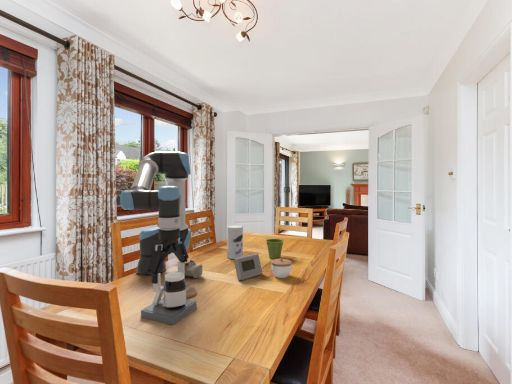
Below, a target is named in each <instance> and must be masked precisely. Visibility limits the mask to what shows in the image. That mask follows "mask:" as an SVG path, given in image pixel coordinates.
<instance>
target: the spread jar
mask: <svg viewBox="0 0 512 384" xmlns="http://www.w3.org/2000/svg"><path fill="white" fill-rule="evenodd" d="M186 287H187V284H186V281H185V279H184V273H182V272H177V271H172V272H168V273H166V274H165V275H164V282H163V285H161V292H160V293H158V292H155V295H154V297H153V301H152V304H153V305H156V306H157V305H158V304H159V302H160V300H161V299H162V298H164V307H165V308H166V309H168V310H177V309H181V308H182V307H184V306H185V304H186Z"/></svg>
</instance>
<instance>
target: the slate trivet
mask: <svg viewBox="0 0 512 384" xmlns="http://www.w3.org/2000/svg"><path fill="white" fill-rule="evenodd" d="M195 309H197V301H196V300H191V299H188V298H187V299H186V304H185V306H184V307H182V308H181V309H177V310H168V309H166V308H165V307H164V297H162V298H161V300H160V302H159V304H158V305H157V306H156V305H153V303H151V304H150V305H148V306H146V307H144V308H142V309H141V310H140V317H141V318H142V319H147V320H150V321H154V322H159V323H164V324H166V325H170V326H174V325H175V324H177V323H178V322H179V321H180V320H182V319H184V318H185V317H187V315H189V314H190V313H192V311H194V310H195Z"/></svg>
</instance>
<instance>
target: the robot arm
mask: <svg viewBox="0 0 512 384" xmlns="http://www.w3.org/2000/svg"><path fill="white" fill-rule="evenodd" d="M157 175H164V177H165V180H167V182H168V185H164V186H159V187H158V189H157V190H155V189H154V190H152V187H153V183H154V179H155V176H157ZM190 175H191V164H190V158H189V154H188V153H187V152H182V151H154V152H150V153H148V154H146V155H145V156H143V157H142V158H141V159H140V160H139V162H138V164H137V172H136V175H135V176H134V177H135V178H134V180H133V183H132V185H131V187H130V189H125V190H122V191H121V193H120V196H119V205H120V207H121V209H123V210H124V211H125V210H131V211H139V210H140V211H141V210H144V211H145V210H158V225H157V226H154V227H153V226H152V227H148V228H144V229H142V230H141V231H140V232H139V239H138V240H139V260H138V262H137V266H136V269H135V270H136V272H135V273H137V274H138V275H142V276H151V283H152V292H154V293H157V292H158V293H160V292H161V286H162V285H161V283H162V282H161V280H162V279H161V277H162V276H161V273H164V272H165V271H166V270H167V265H166V262H165V260H166V258H167V257H169V255H171V254H174V255H175V257H176V259H178V262H177V271H178V272H182V273H184V280H185V277H186V276H185V263H187V262H189V260H188V259H189V254H188V251H187V250H188V249H189V246H190V242H191V241H190V240H191V233H192V230H191V229H192V228H189V225H188V224H187V223H186V180H188V178H189V176H190Z"/></svg>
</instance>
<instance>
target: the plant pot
mask: <svg viewBox="0 0 512 384" xmlns="http://www.w3.org/2000/svg"><path fill="white" fill-rule="evenodd" d="M265 242H266V246H267V252H268V258H269V259H271V260H274V259H280V258H282V257H281V255H282V250H283V245H284V242H285V241H284V240H283V239H279V238H267V239H266V240H265Z"/></svg>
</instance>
